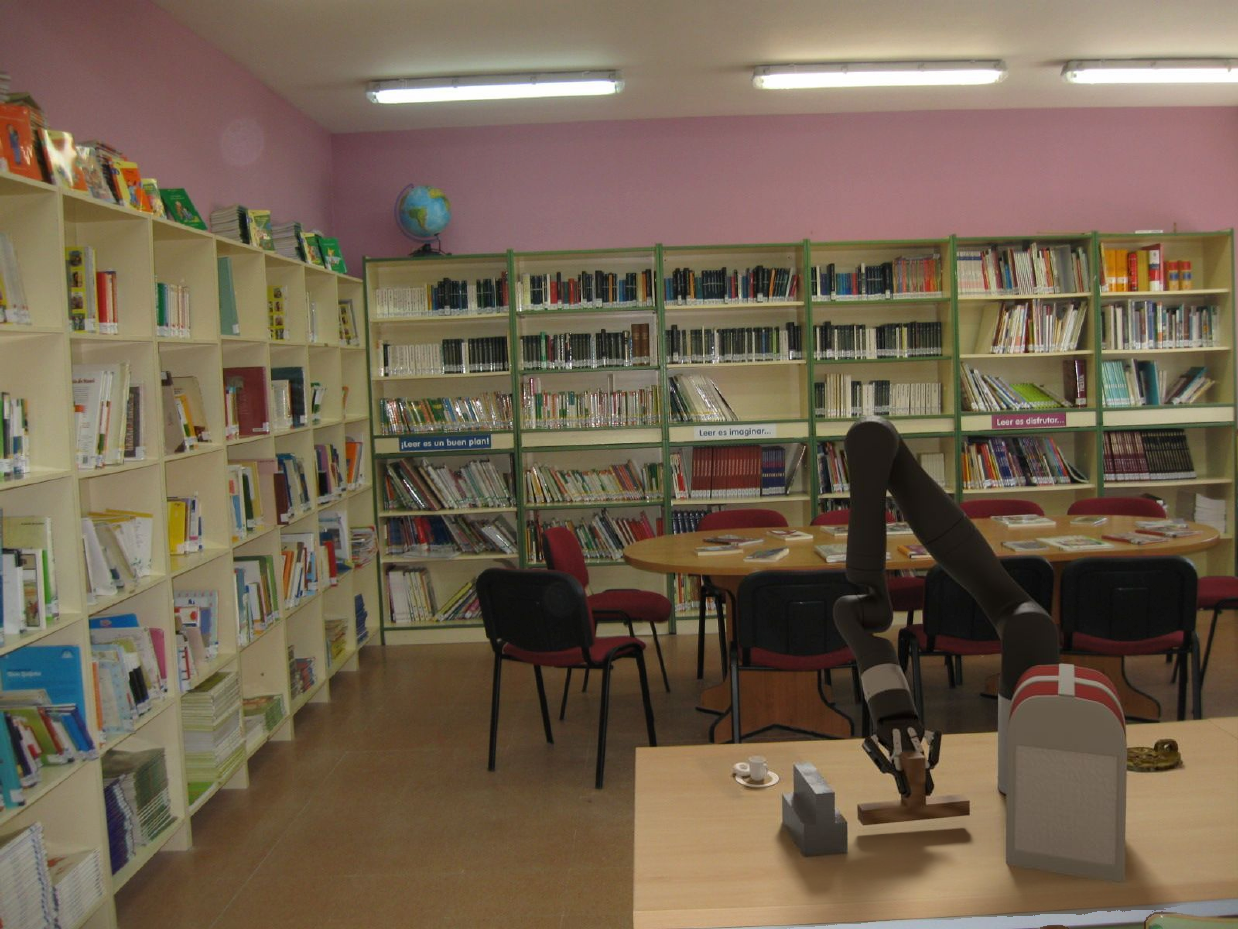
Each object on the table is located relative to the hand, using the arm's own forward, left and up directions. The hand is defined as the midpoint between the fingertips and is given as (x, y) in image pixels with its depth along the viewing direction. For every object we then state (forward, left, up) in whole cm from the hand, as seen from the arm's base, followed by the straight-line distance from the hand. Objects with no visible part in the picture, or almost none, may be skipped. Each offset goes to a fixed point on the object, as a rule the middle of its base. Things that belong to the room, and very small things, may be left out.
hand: (918, 794), depth 161 cm
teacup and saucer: (+30, -16, -7) cm, 35 cm away
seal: (-35, -44, -7) cm, 57 cm away
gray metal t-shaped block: (+16, +7, -7) cm, 18 cm away
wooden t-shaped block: (+1, -2, -5) cm, 5 cm away
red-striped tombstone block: (-21, -3, -7) cm, 23 cm away
